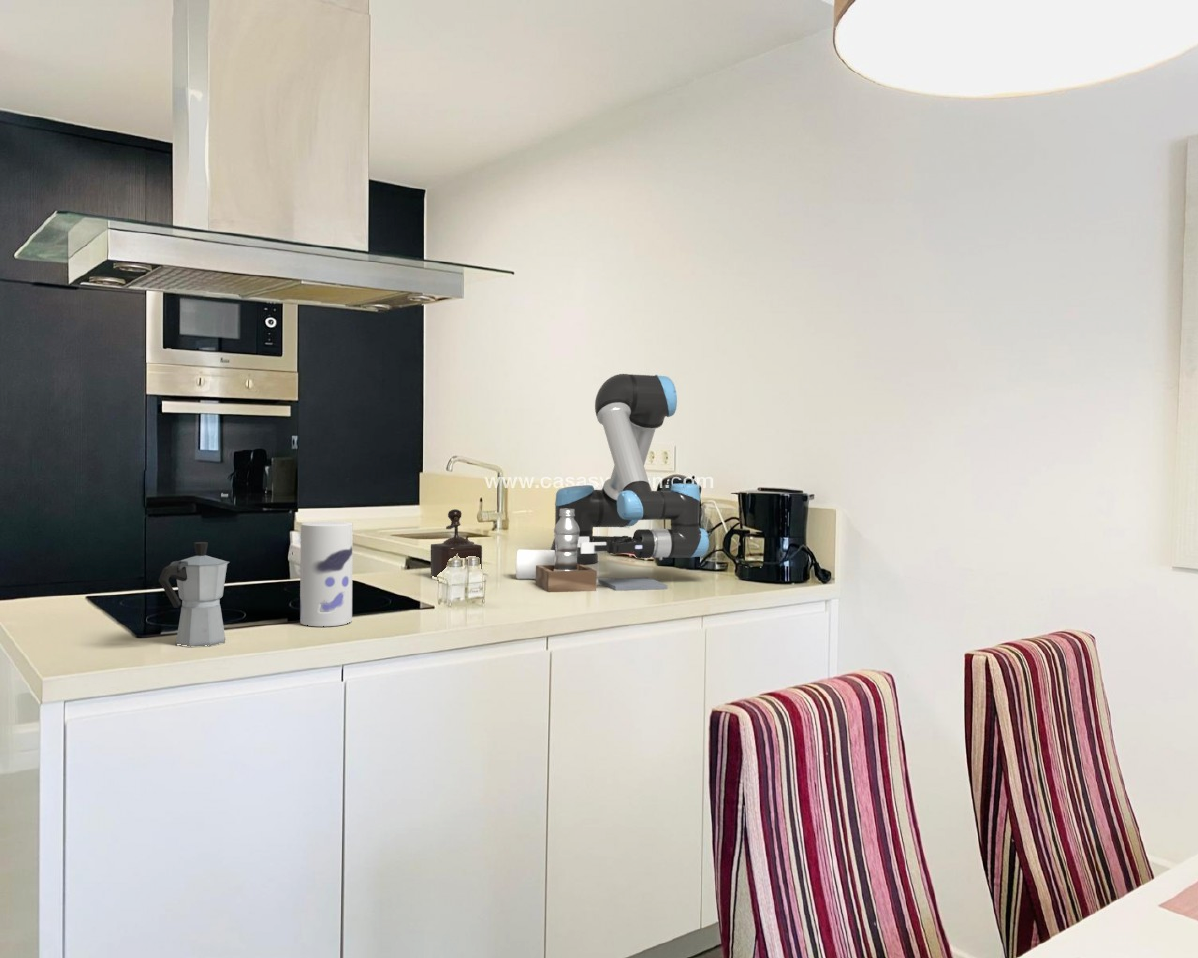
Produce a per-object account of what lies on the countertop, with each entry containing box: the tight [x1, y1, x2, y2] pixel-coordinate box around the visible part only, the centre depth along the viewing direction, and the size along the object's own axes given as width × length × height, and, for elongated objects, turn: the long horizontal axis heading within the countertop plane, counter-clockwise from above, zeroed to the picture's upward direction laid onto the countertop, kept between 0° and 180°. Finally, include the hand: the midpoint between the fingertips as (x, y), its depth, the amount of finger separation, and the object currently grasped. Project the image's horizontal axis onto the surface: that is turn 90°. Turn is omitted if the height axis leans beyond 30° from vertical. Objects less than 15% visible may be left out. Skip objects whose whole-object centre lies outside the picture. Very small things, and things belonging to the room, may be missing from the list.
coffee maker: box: [158, 541, 230, 647], centre depth 172 cm, size 15×9×18 cm, turn 154°
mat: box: [597, 576, 668, 591], centre depth 251 cm, size 14×14×1 cm
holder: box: [535, 564, 598, 593], centre depth 246 cm, size 12×12×5 cm
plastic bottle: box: [553, 509, 580, 571], centre depth 245 cm, size 6×7×20 cm
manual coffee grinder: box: [430, 508, 483, 577], centre depth 259 cm, size 16×11×18 cm
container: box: [299, 520, 354, 627], centre depth 194 cm, size 10×10×20 cm
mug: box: [515, 548, 555, 581], centre depth 262 cm, size 12×10×8 cm
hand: (572, 545), depth 245 cm, fingers open, 13 cm apart
